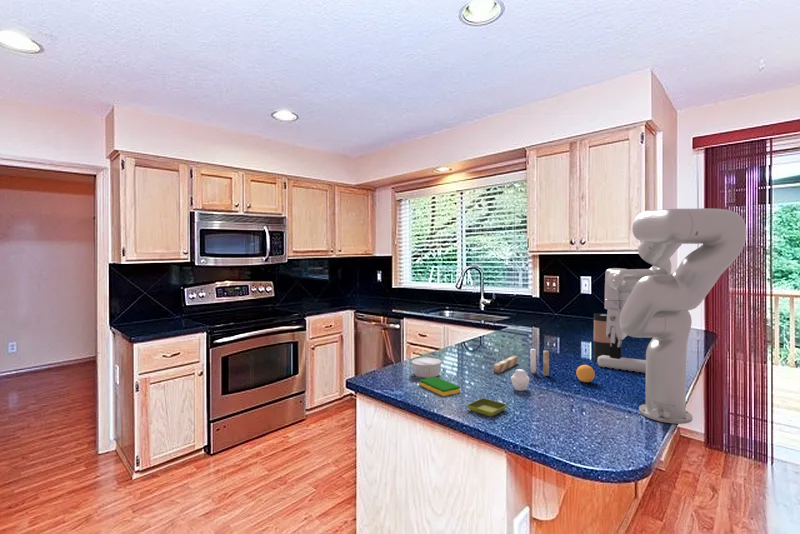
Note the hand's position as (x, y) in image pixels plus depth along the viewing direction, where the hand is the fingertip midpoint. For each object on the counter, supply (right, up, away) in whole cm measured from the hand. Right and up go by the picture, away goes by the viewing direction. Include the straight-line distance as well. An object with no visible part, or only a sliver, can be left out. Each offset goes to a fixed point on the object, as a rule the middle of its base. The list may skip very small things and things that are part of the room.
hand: (615, 357), depth 141 cm
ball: (-8, -7, +6) cm, 12 cm away
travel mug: (+13, -9, +34) cm, 38 cm away
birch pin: (-19, -10, +15) cm, 25 cm away
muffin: (-33, -10, -2) cm, 35 cm away
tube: (+17, -10, +20) cm, 28 cm away
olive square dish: (-48, -11, -21) cm, 54 cm away
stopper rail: (-31, -9, +25) cm, 41 cm away
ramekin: (-64, -10, +16) cm, 66 cm away
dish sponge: (-60, -11, -1) cm, 61 cm away
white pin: (-23, -10, +18) cm, 30 cm away
